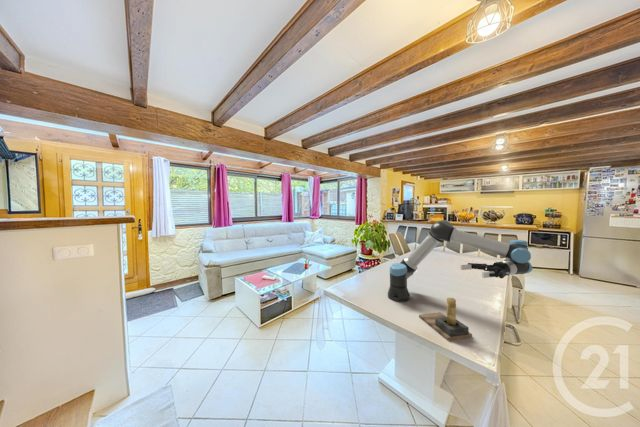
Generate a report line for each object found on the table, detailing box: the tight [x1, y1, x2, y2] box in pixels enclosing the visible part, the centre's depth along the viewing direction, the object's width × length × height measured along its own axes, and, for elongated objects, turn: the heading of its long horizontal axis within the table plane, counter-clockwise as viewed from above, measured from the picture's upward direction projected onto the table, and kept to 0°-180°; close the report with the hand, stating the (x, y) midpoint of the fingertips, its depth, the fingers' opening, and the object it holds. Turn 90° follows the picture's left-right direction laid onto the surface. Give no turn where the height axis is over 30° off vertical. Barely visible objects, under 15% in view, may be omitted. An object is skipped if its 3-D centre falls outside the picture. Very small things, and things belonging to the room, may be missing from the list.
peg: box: [446, 297, 457, 326], centre depth 109 cm, size 4×4×16 cm
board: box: [418, 311, 473, 341], centre depth 114 cm, size 22×14×5 cm, turn 10°
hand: (471, 271), depth 115 cm, fingers open, 13 cm apart
